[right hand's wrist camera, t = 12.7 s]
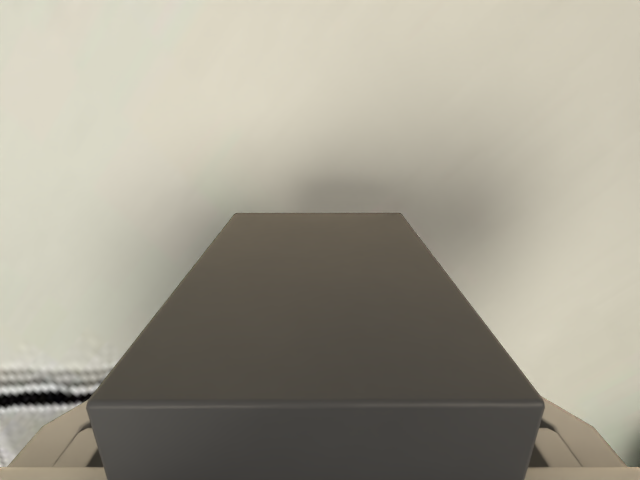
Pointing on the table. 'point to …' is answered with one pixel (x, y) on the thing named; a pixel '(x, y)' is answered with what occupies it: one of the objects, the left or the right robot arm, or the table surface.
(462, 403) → the box
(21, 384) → the table surface
